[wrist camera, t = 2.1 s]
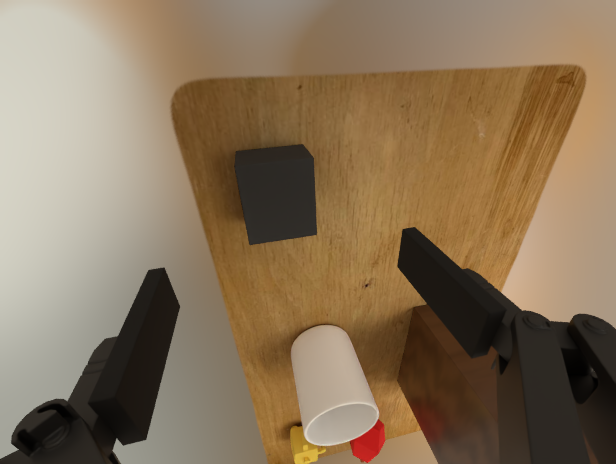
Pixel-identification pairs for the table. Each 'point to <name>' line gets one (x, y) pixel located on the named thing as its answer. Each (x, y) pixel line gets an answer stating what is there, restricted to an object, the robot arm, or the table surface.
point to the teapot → (303, 447)
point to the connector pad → (277, 192)
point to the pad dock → (451, 393)
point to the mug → (331, 387)
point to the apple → (369, 443)
